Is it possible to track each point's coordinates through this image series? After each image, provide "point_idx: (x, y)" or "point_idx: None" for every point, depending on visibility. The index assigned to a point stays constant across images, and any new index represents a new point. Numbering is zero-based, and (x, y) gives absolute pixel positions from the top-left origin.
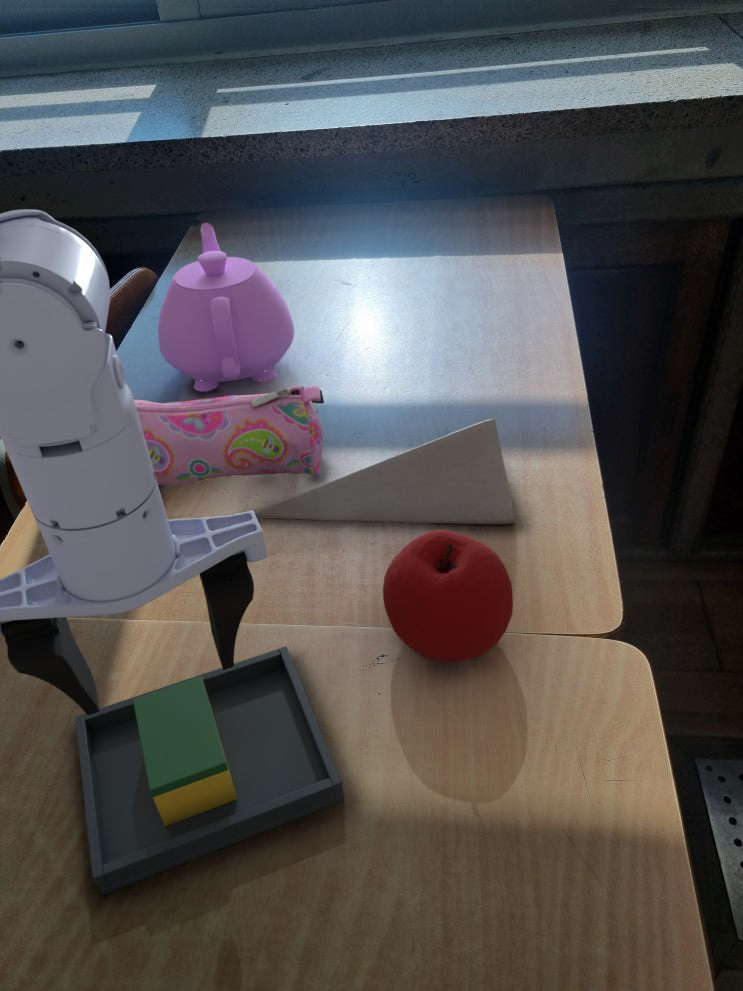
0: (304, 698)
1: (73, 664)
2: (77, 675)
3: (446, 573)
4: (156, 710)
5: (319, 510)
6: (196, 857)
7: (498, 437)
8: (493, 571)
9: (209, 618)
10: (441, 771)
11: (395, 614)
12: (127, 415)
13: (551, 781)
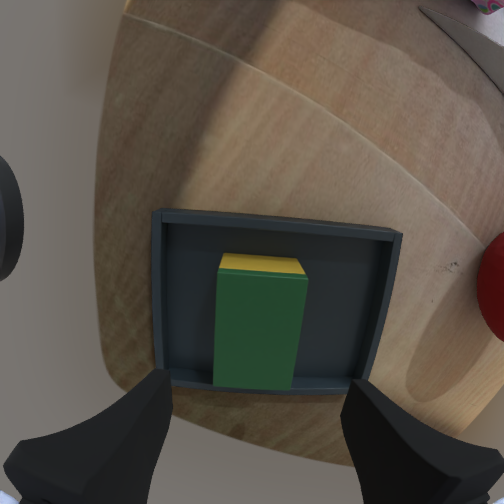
0: (385, 310)
1: (144, 490)
2: (149, 478)
3: None
4: (241, 303)
5: (480, 55)
6: None
7: None
8: None
9: (371, 403)
10: (419, 378)
11: (499, 302)
12: None
13: (454, 399)
